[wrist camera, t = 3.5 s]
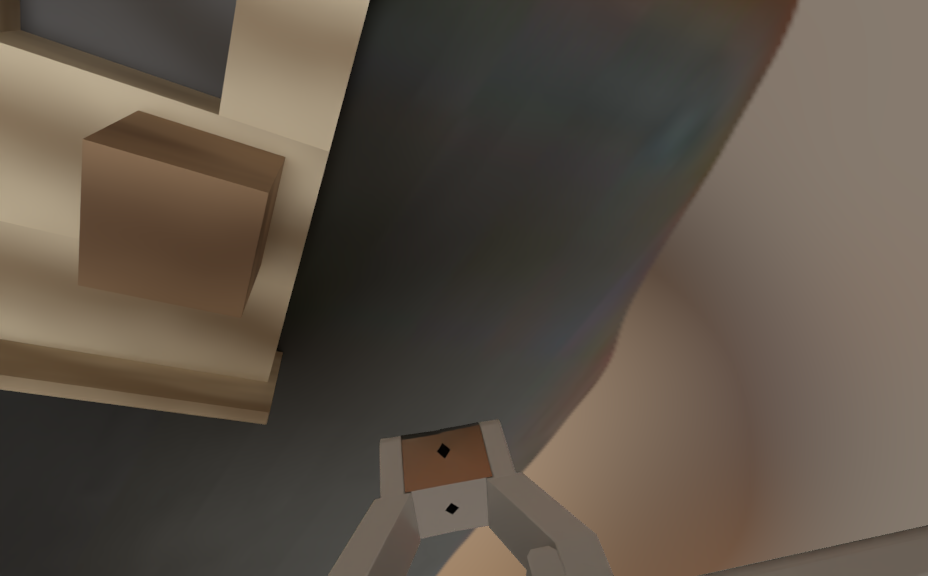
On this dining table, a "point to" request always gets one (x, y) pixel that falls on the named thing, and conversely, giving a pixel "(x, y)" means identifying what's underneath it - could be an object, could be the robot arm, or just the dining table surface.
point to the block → (174, 213)
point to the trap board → (183, 101)
